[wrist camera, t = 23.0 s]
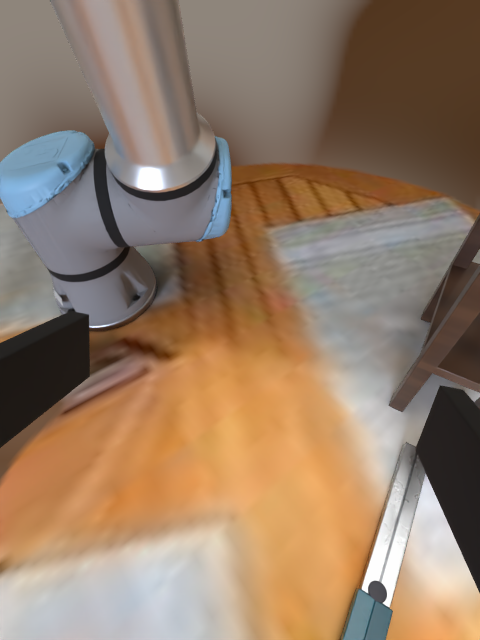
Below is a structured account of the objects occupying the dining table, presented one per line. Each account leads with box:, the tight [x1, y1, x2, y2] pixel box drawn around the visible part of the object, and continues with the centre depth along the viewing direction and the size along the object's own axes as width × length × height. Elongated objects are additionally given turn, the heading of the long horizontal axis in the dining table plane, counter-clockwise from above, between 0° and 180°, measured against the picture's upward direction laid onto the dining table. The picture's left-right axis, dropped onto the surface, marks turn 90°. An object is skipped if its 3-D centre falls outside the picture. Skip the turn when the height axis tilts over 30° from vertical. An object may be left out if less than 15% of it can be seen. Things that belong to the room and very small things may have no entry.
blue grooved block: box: [340, 442, 426, 640], centre depth 32 cm, size 24×3×1 cm, turn 149°
